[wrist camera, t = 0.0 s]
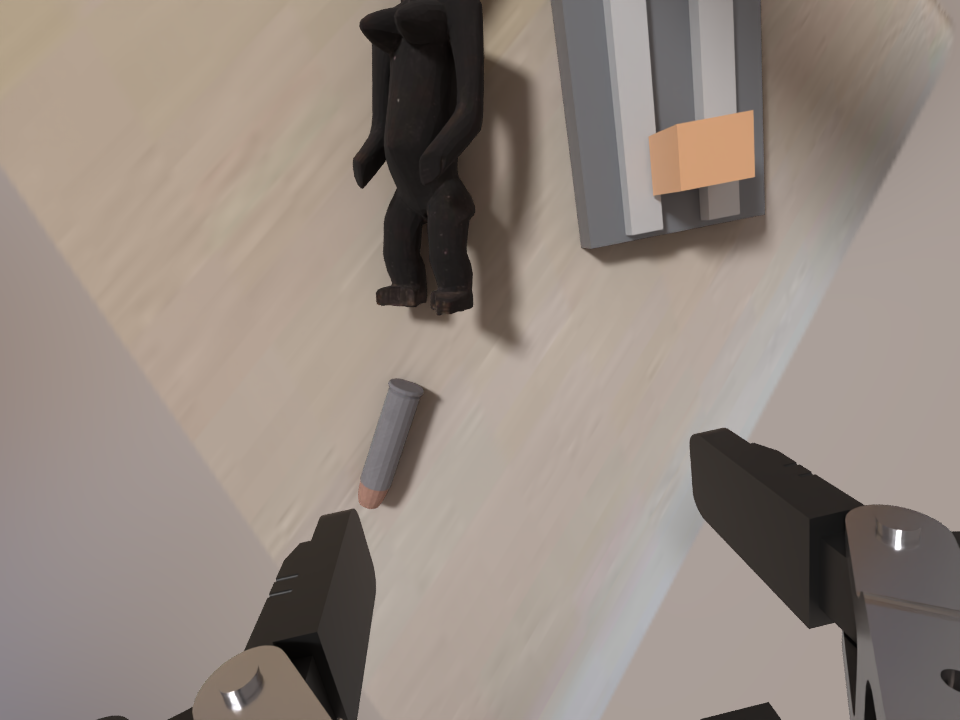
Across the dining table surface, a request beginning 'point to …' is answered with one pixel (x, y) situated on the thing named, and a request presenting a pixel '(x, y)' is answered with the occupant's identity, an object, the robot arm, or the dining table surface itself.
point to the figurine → (425, 142)
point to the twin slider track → (654, 107)
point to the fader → (703, 153)
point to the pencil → (388, 441)
